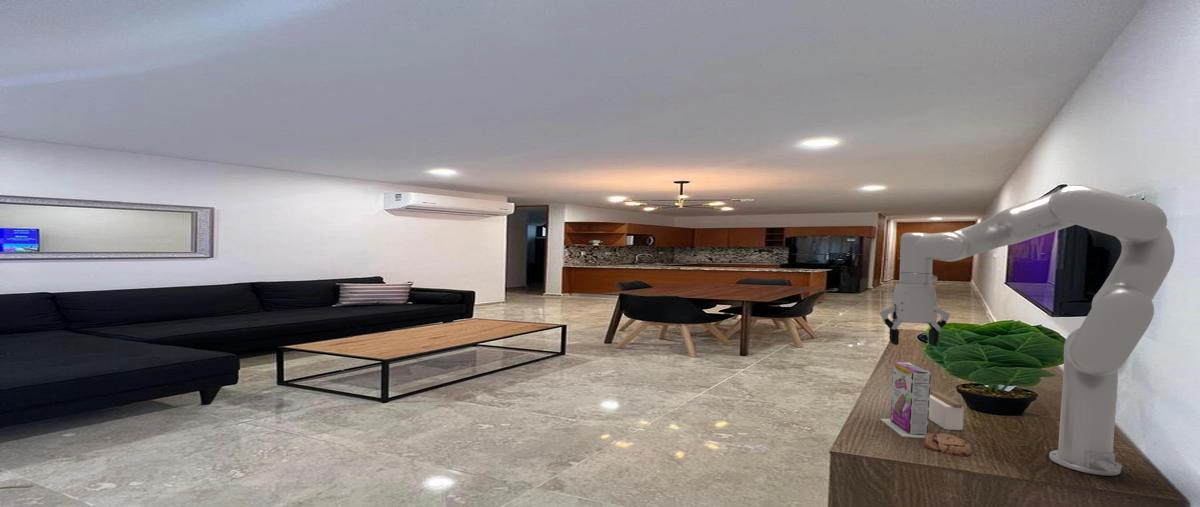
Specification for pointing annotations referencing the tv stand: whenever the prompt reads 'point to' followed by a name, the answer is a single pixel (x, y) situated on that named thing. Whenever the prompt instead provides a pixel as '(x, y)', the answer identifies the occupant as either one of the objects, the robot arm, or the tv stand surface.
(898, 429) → the stub pad
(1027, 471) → the tv stand surface
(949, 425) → the block
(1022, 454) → the tv stand surface
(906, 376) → the candy bar box
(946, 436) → the cookie
